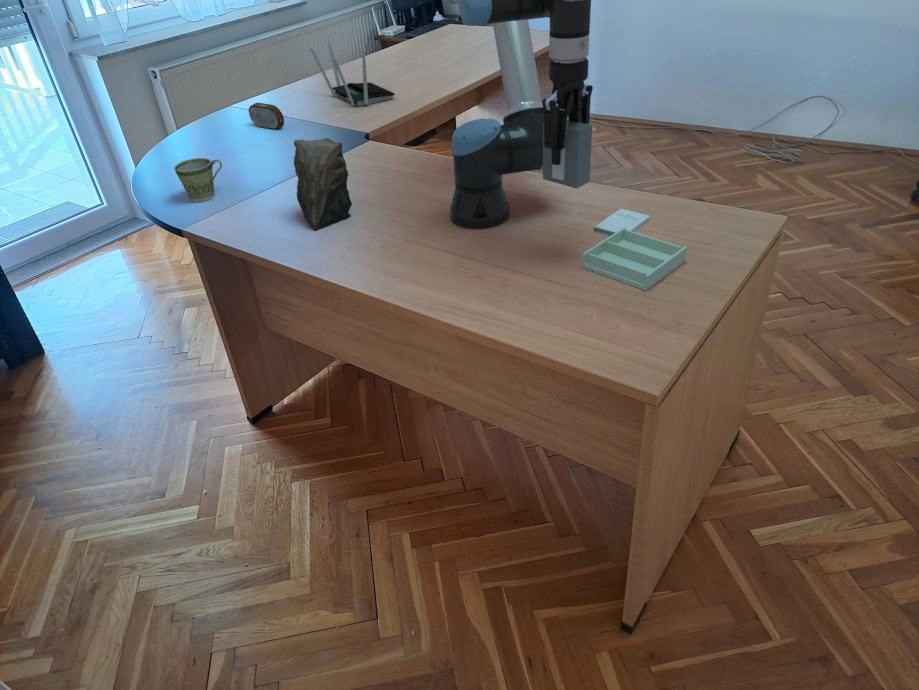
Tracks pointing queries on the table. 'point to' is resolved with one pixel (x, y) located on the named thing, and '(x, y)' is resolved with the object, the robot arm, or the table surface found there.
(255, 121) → the tin
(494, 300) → the table surface
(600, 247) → the green divided tray
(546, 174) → the blue-grey rectangular block
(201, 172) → the ceramic cup
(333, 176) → the rock
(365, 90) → the wireless router
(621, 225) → the external hard drive
